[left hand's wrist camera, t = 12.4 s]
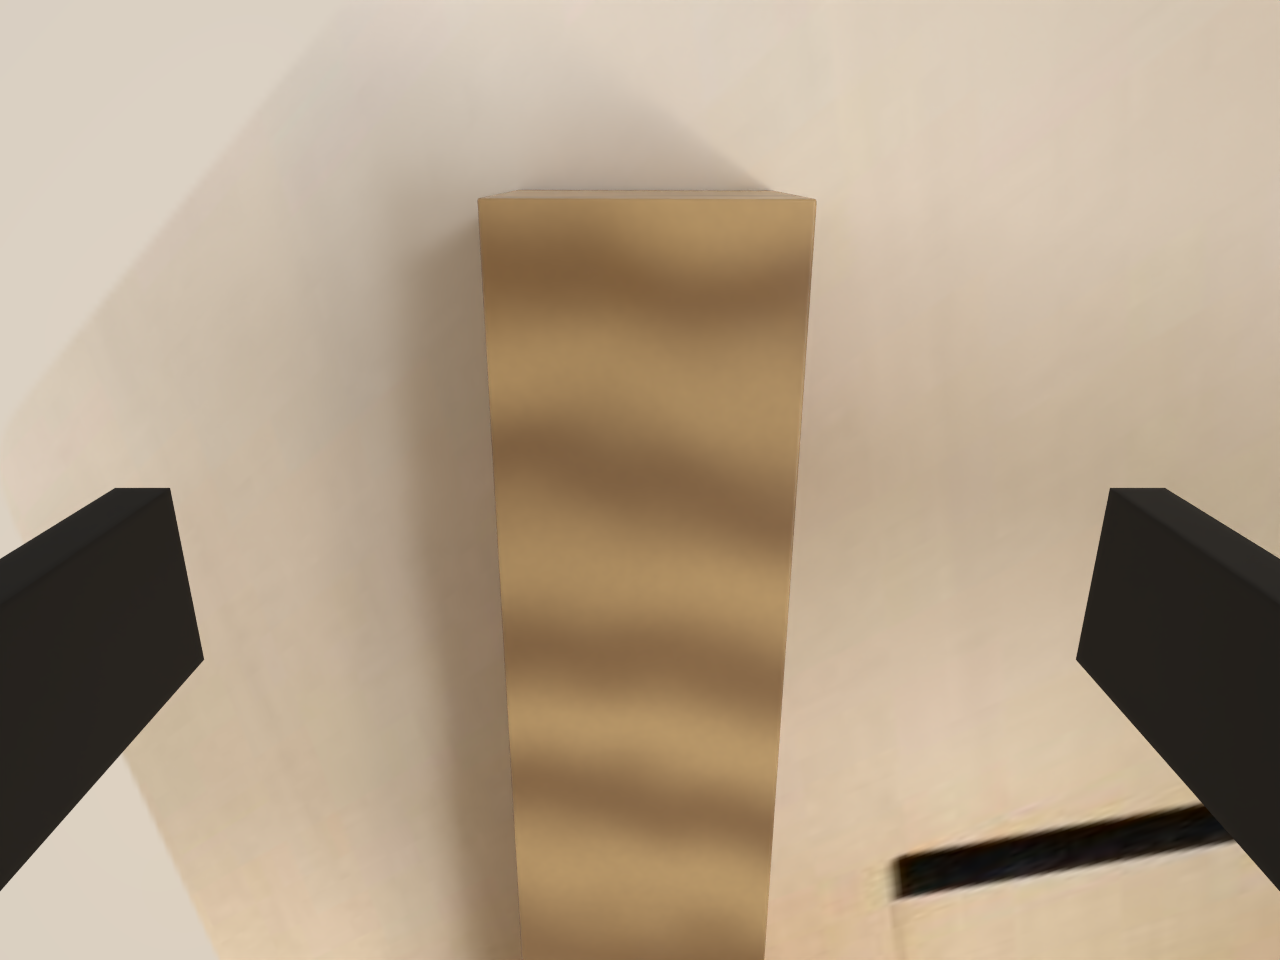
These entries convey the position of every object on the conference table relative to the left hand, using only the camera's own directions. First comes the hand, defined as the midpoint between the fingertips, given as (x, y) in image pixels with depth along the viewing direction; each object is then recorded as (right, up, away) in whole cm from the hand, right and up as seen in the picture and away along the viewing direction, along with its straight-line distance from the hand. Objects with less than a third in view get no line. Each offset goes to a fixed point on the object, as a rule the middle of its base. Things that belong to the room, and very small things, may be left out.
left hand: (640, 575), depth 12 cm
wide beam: (0, -24, +30) cm, 38 cm away
